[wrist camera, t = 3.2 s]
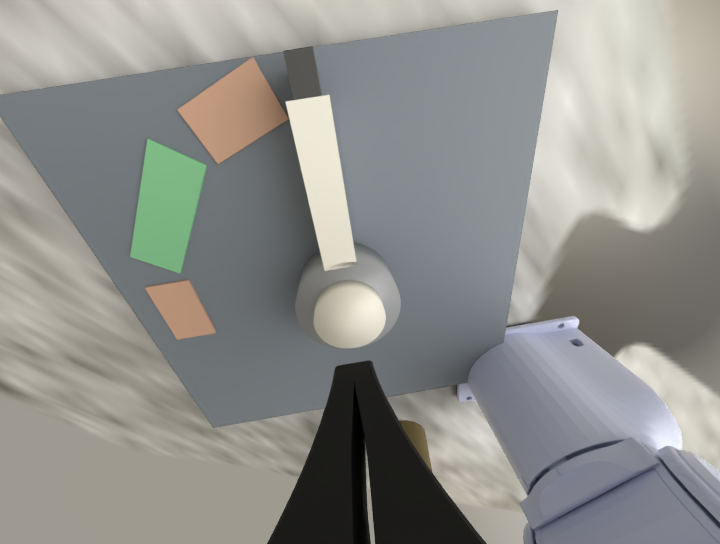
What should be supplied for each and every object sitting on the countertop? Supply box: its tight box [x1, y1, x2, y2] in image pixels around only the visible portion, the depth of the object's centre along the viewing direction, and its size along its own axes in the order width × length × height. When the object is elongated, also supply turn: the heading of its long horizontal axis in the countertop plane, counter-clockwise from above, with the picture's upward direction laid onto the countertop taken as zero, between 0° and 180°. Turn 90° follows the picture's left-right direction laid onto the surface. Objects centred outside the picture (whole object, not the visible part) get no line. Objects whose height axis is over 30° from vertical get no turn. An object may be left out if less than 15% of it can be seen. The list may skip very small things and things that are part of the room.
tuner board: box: [0, 10, 558, 428], centre depth 17 cm, size 24×23×1 cm
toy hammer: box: [283, 46, 401, 349], centre depth 13 cm, size 14×6×4 cm, turn 8°
